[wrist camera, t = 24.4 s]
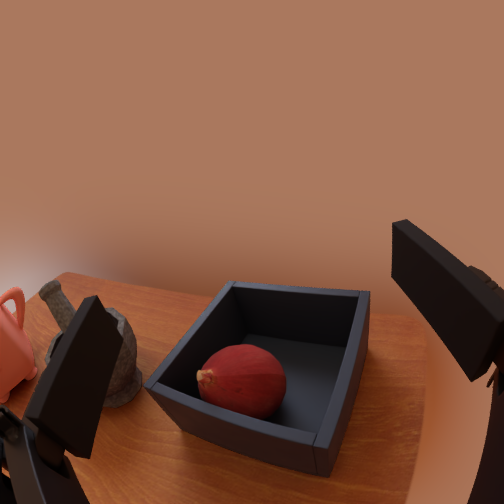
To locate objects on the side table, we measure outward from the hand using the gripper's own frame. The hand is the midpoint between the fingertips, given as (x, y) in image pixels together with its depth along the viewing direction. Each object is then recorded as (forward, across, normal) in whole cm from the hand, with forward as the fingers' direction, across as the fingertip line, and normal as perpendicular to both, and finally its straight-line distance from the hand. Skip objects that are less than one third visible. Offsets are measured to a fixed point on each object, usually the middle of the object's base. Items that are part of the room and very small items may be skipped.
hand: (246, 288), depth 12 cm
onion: (+4, 0, -13) cm, 13 cm away
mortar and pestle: (+8, -17, -14) cm, 24 cm away
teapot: (+10, -39, -14) cm, 43 cm away
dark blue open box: (+4, 0, -14) cm, 14 cm away
